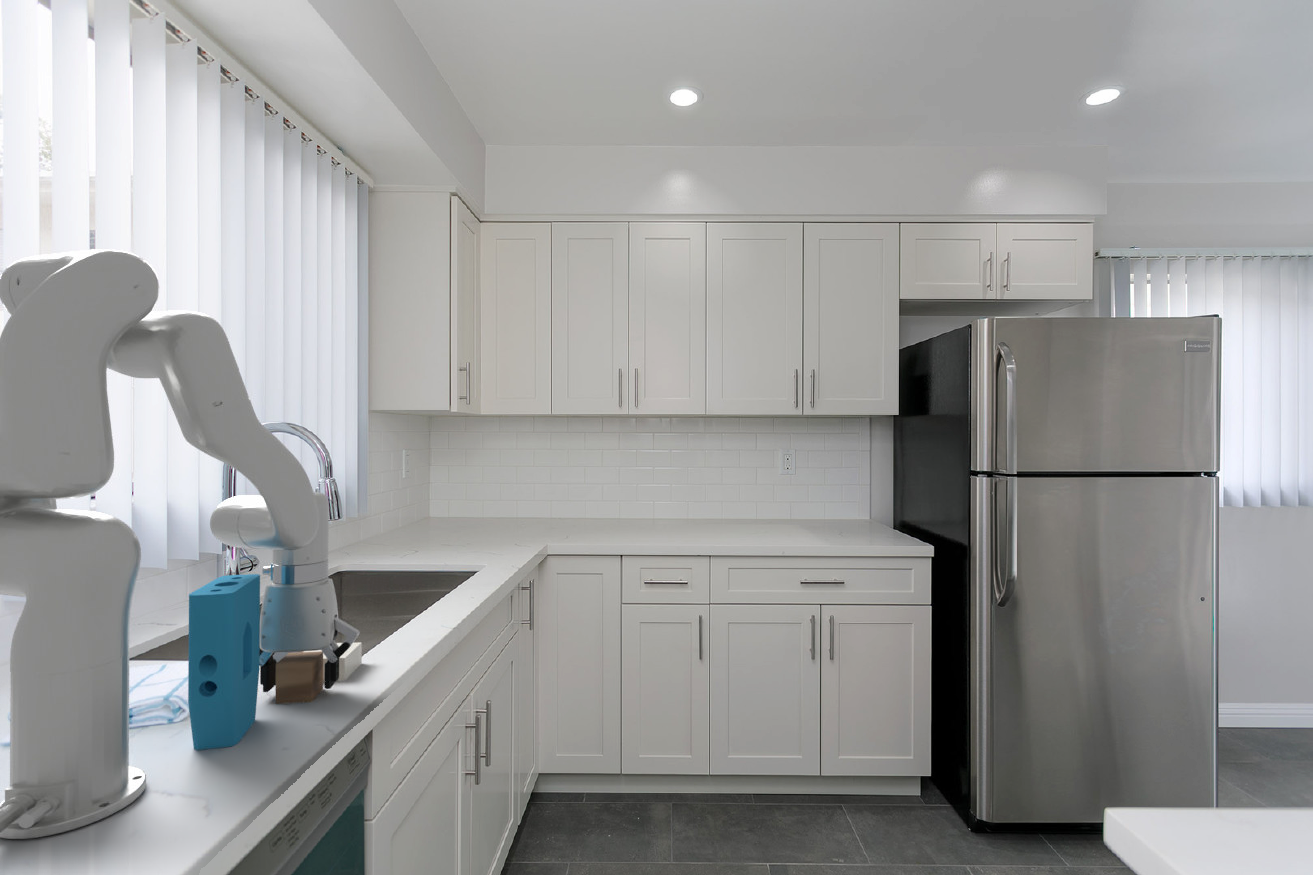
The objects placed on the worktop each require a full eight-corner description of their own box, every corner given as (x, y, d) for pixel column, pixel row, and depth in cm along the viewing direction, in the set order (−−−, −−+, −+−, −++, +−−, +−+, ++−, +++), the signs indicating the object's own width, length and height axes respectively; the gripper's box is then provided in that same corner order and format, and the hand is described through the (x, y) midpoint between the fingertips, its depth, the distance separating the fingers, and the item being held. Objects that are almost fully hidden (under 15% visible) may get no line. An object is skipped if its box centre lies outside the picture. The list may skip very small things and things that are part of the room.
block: (231, 752, 82) (232, 593, 82) (185, 757, 81) (186, 595, 81) (260, 713, 94) (261, 573, 94) (221, 716, 92) (222, 575, 92)
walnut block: (311, 702, 98) (311, 662, 98) (275, 704, 97) (275, 663, 97) (322, 689, 103) (323, 651, 103) (288, 691, 102) (288, 652, 102)
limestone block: (344, 682, 106) (344, 657, 106) (292, 683, 106) (293, 659, 106) (361, 665, 114) (361, 642, 114) (313, 666, 114) (313, 643, 114)
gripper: (226, 580, 95) (226, 700, 95) (354, 576, 98) (353, 693, 98) (250, 569, 102) (249, 681, 102) (367, 566, 105) (367, 675, 105)
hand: (300, 686), depth 100 cm, fingers open, 8 cm apart
